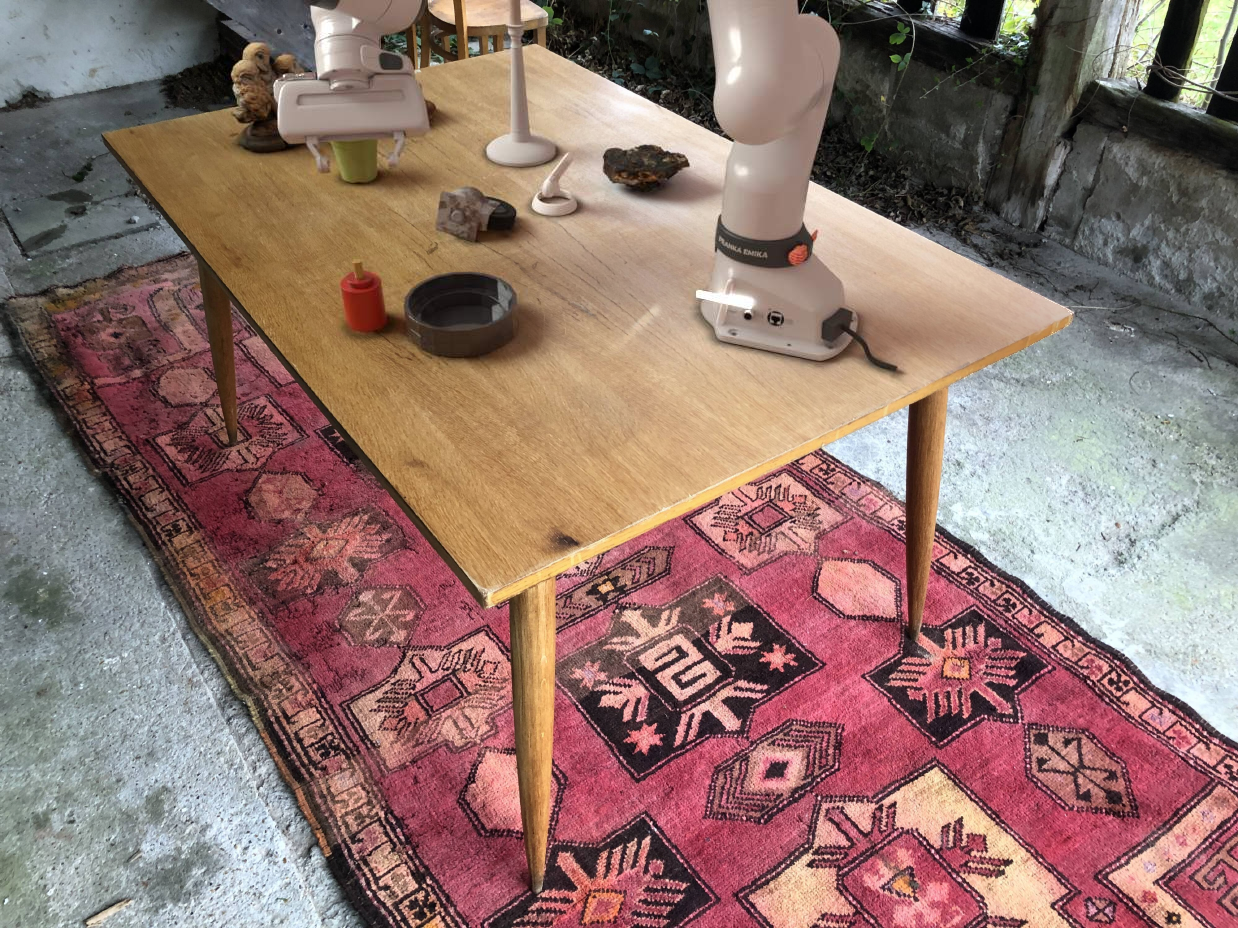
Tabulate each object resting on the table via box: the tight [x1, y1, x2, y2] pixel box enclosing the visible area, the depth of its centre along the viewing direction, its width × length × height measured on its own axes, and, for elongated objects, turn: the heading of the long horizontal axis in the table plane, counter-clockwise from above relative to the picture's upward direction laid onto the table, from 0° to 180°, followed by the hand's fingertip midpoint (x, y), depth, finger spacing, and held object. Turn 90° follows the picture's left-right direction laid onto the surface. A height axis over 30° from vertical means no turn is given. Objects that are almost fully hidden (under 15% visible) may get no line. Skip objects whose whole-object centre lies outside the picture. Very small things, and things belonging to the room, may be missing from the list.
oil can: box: [339, 258, 388, 333], centre depth 133 cm, size 5×5×10 cm
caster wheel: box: [434, 186, 518, 243], centre depth 158 cm, size 7×11×10 cm
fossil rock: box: [602, 144, 691, 193], centre depth 171 cm, size 14×14×6 cm
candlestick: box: [486, 0, 557, 168], centre depth 172 cm, size 13×13×30 cm
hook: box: [531, 152, 578, 217], centre depth 163 cm, size 8×12×7 cm
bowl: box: [403, 271, 519, 358], centre depth 135 cm, size 15×15×5 cm
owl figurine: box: [230, 42, 306, 153], centre depth 179 cm, size 18×12×17 cm, turn 148°
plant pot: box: [329, 139, 379, 184], centre depth 170 cm, size 9×9×9 cm
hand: (359, 170), depth 135 cm, fingers open, 8 cm apart
